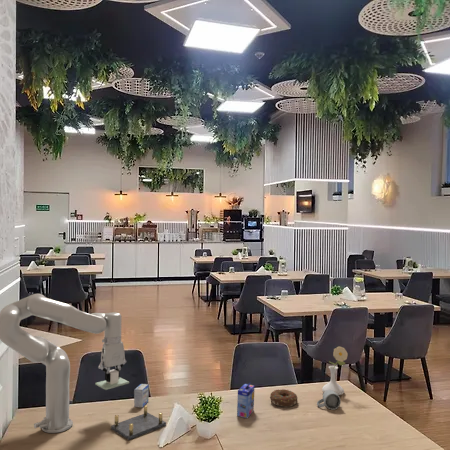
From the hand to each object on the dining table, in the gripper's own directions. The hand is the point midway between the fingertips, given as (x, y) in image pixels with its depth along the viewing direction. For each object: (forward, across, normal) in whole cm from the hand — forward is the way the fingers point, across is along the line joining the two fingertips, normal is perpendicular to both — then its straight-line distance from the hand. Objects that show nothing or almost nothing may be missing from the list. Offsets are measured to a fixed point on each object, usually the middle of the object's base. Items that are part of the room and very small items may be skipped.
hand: (112, 379), depth 200 cm
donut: (+17, +70, -45) cm, 85 cm away
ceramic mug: (+17, +82, -63) cm, 105 cm away
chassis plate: (+17, +3, -17) cm, 24 cm away
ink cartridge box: (+17, +47, -40) cm, 64 cm away
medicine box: (+17, +18, +3) cm, 25 cm away
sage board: (+2, 0, 0) cm, 2 cm away
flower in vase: (+17, +99, -56) cm, 115 cm away
